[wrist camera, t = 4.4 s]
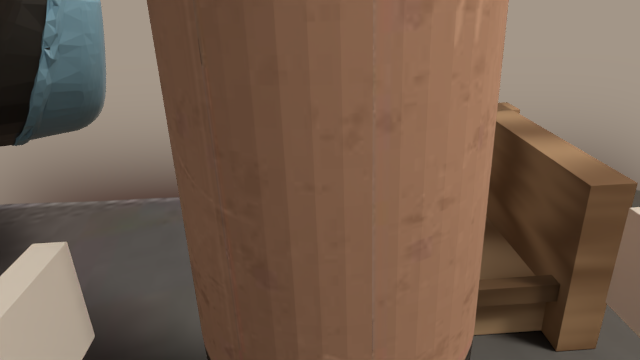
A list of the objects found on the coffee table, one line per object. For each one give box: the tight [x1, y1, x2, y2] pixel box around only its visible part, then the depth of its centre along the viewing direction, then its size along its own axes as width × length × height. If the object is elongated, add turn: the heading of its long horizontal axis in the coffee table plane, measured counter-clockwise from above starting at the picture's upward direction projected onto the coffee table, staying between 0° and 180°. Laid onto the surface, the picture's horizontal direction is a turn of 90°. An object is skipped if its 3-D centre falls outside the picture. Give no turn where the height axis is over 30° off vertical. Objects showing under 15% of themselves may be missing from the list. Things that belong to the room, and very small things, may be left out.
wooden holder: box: [473, 102, 637, 351], centre depth 27 cm, size 14×15×9 cm
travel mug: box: [147, 0, 509, 360], centre depth 13 cm, size 8×8×20 cm
